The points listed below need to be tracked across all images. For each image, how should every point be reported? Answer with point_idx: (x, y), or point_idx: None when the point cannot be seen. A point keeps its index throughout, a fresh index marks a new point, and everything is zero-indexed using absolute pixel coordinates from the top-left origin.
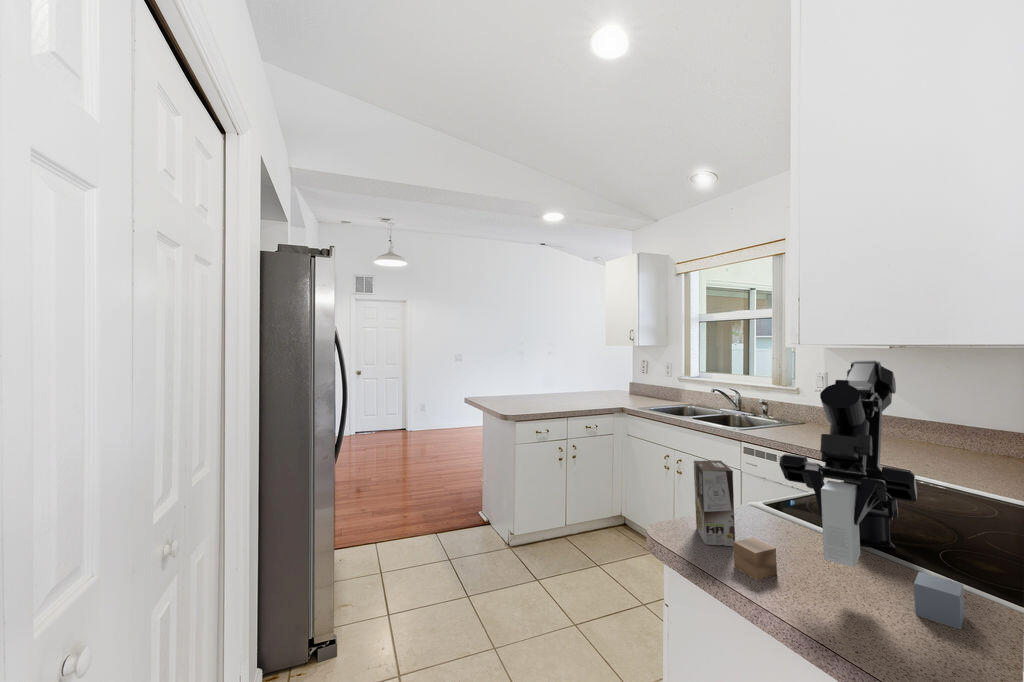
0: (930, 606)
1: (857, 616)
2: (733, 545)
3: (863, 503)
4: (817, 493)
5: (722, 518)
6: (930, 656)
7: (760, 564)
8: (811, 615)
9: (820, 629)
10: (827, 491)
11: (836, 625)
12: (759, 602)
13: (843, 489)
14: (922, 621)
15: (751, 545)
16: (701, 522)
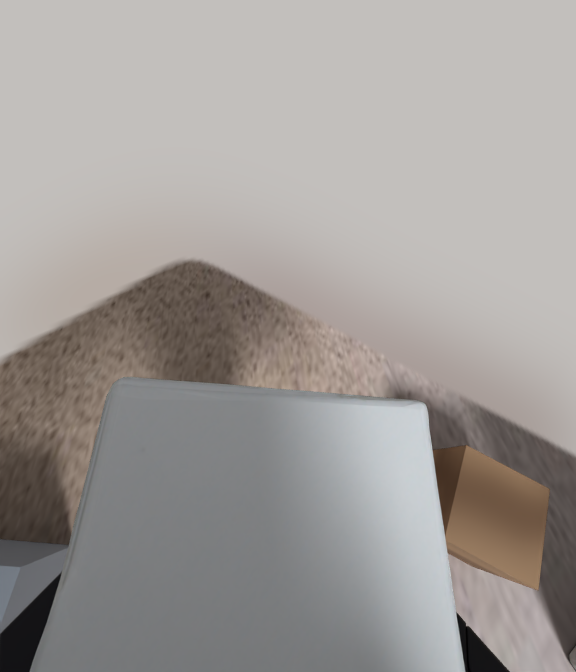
0: (16, 550)
1: None
2: (573, 654)
3: (13, 632)
4: (463, 644)
5: None
6: (86, 357)
7: (438, 465)
8: (287, 367)
9: (265, 327)
10: (354, 397)
11: (242, 360)
12: (378, 353)
13: (190, 530)
14: (64, 514)
15: (502, 501)
16: None
